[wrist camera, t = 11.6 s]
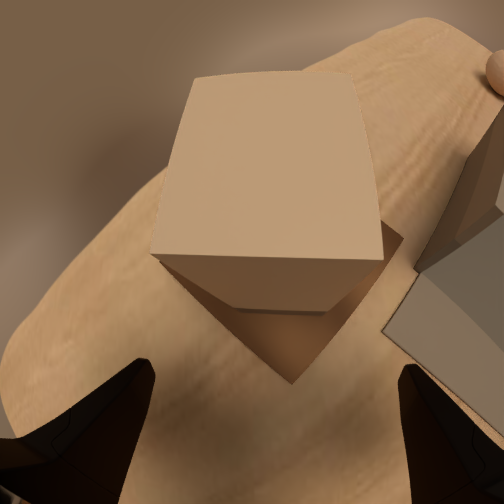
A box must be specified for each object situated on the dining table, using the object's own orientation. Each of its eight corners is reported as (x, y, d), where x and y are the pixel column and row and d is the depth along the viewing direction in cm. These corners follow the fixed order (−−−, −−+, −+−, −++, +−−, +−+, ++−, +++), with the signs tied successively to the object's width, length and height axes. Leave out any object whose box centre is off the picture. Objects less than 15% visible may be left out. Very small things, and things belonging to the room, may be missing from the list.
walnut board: (291, 382, 16) (291, 384, 16) (164, 265, 20) (159, 261, 19) (399, 243, 18) (403, 238, 17) (271, 154, 22) (270, 146, 21)
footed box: (322, 315, 17) (383, 259, 5) (241, 312, 17) (149, 253, 6) (323, 224, 18) (351, 73, 7) (248, 222, 19) (195, 78, 8)
